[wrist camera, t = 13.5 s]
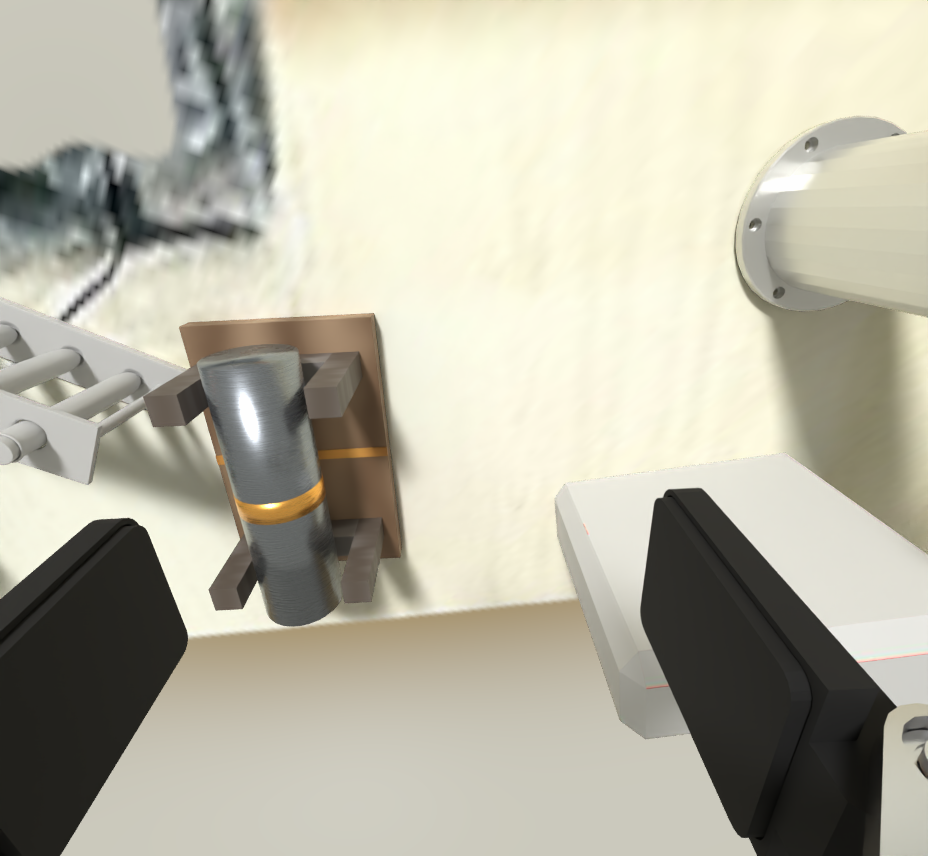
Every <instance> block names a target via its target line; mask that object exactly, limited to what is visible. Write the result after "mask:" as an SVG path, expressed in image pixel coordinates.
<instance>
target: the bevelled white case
mask: <svg viewBox="0 0 928 856" xmlns="http://www.w3.org/2000/svg"><path fill="white" fill-rule="evenodd" d="M682 488H702V489H703V490H704V491H705V492H706V493H707V494H708V495H709V496H710V497H711V498H712V499H713V501H714V502H715V503H716V504H717V505H718V506H719V507H720V508H721V510H722V511H723V512H724V513H725V514H726V515H727V516H728V517H729V519H730V520H731V521H732V522H733V523H734V524H735V525H736V526H737V528H738V529H739V530H740V531H741V532H742V533H743V534H744V535H745V537H746V538H747V539H748V540H749V541H750V542H751V543H752V544H753V546H754V547H755V548H756V549H757V550H758V551H759V552H760V553H761V555H762V556H763V557H764V558H765V559H766V560H767V561H768V562H769V564H770V565H771V566H772V567H773V568H774V569H775V570H776V571H777V572H778V574H779V575H780V576H781V577H782V578H783V579H784V580H785V581H786V583H787V584H788V585H789V586H790V587H791V588H792V589H793V590H794V592H795V593H796V594H797V595H798V596H799V597H800V598H801V599H802V601H803V602H804V603H805V604H806V605H807V606H808V607H809V608H810V610H811V611H812V612H813V613H814V614H815V615H816V616H817V617H818V618H819V620H820V621H821V622H822V623H823V624H824V625H825V626H826V627H827V629H828V630H829V631H830V632H831V633H832V634H833V635H834V636H835V638H836V639H837V640H838V641H839V642H840V643H841V644H842V645H843V647H844V648H845V649H846V650H847V651H848V652H849V653H850V654H851V656H852V657H853V658H854V659H855V660H856V661H857V662H858V663H859V665H860V666H861V667H862V668H863V669H864V670H865V671H866V672H867V674H868V675H869V676H870V677H871V678H872V679H873V680H874V681H875V683H876V684H877V685H878V686H879V687H880V688H881V689H882V690H883V692H884V693H885V694H886V695H887V696H888V697H889V698H890V699H891V701H892V702H893V703H894V704H895V705H896V706H897V707H898V706H900V705H907V704H914V703H921V704H928V554H926V553H925V552H924V551H922V550H921V549H919V548H918V547H917V546H915V545H914V544H912V543H911V542H910V541H908V540H907V539H905V538H904V537H903V536H901V535H900V534H898V533H897V532H896V531H894V530H893V529H891V528H890V527H889V526H887V525H886V524H884V523H883V522H882V521H880V520H879V519H877V518H876V517H875V516H873V515H872V514H870V513H869V512H868V511H866V510H865V509H863V508H862V507H861V506H859V505H858V504H856V503H855V502H854V501H852V500H851V499H849V498H848V497H847V496H845V495H844V494H842V493H841V492H840V491H838V490H837V489H835V488H834V487H833V486H831V485H830V484H828V483H827V482H826V481H824V480H823V479H821V478H820V477H819V476H817V475H816V474H814V473H813V472H812V471H810V470H809V469H807V468H806V467H805V466H803V465H802V464H800V463H799V462H798V461H796V460H795V459H793V458H792V457H791V456H789V455H788V454H786V453H779V454H772V455H764V456H757V457H750V458H743V459H735V460H728V461H721V462H714V463H706V464H699V465H692V466H685V467H677V468H670V469H663V470H656V471H648V472H641V473H634V474H627V475H619V476H612V477H605V478H598V479H590V480H583V481H576V482H569V483H565V484H564V486H563V487H562V488H561V490H560V491H559V493H558V494H557V495H556V497H555V509H556V522H557V536H558V539H559V542H560V545H561V548H562V551H563V554H564V557H565V560H566V562H567V565H568V568H569V571H570V574H571V577H572V580H573V583H574V586H575V589H576V592H577V595H578V598H579V601H580V604H581V607H582V609H583V612H584V615H585V618H586V622H587V625H588V628H589V630H590V633H591V636H592V639H593V642H594V645H595V648H596V651H597V654H598V657H599V660H600V663H601V666H602V669H603V672H604V675H605V678H606V681H607V683H608V686H609V690H610V693H611V695H612V698H613V701H614V704H615V707H616V710H617V713H618V716H619V719H620V721H621V722H623V723H624V724H625V725H627V726H628V727H630V728H631V729H632V730H633V731H635V732H636V733H638V734H639V735H640V736H642V737H643V738H645V739H650V738H659V737H667V736H676V735H684V734H690V731H689V729H688V727H687V725H686V723H685V720H684V718H683V716H682V714H681V711H680V709H679V707H678V705H677V703H676V700H675V698H674V696H673V694H672V691H671V689H670V687H669V685H668V682H667V680H666V678H665V676H664V674H663V671H662V669H661V667H660V665H659V662H658V660H657V658H656V656H655V654H654V651H653V649H652V647H651V645H650V642H649V640H648V638H647V636H646V634H645V631H644V629H643V626H642V622H641V617H640V606H641V598H642V590H643V583H644V575H645V568H646V560H647V553H648V545H649V538H650V530H651V523H652V515H653V507H654V502H655V500H656V499H657V498H663V496H664V493H665V492H666V491H667V490H668V489H682Z"/></svg>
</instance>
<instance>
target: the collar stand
mask: <svg viewBox="0 0 928 856" xmlns="http://www.w3.org/2000/svg"><path fill="white" fill-rule="evenodd" d="M179 329H180V332H181V336H182V339H183V343H184V346H185V350H186V353H187V357H188V360H189V364H190V367H191V368H189V369H188V370H186V371H184V372H183V373H181V374H179V375H178V376H176V377H174V378H173V379H171V380H169V381H168V382H166V383H165V384H163V385H161V386H160V387H158V388H156V389H155V390H153V391H151V392H150V393H148V394H146V395H145V396H143V399H144V402H145V404H146V407H147V410H148V413H149V416H150V419H151V422H152V425H153V427H164V426H183V425H187V424H188V423H189V422H191V421H192V420H193V419H194V418H195V417H197V416H198V415H199V414H200V413H202V412H204V415H205V419H206V422H207V426H208V429H209V433H210V436H211V440H212V443H213V447H214V450H215V453H216V459H217V463H218V465H219V467H220V471H221V474H222V478H223V481H224V485H225V488H226V492H227V495H228V498H229V502H230V505H231V509H232V512H233V516H234V519H235V523H236V526H237V530H238V533H239V536H240V541H239V543H238V544H237V546H236V547H235V549H234V550H233V552H232V554H231V555H230V557H229V558H228V560H227V562H226V563H225V565H224V566H223V568H222V569H221V571H220V573H219V574H218V576H217V577H216V579H215V581H214V582H213V584H212V585H211V587H210V588H209V592H210V595H211V598H212V601H213V604H214V607H215V610H234V609H243V607H244V605H245V603H246V601H247V600H248V598H249V596H250V594H251V592H252V590H253V588H254V586H255V584H256V582H257V580H258V579H257V576H256V572H255V569H254V565H253V562H252V558H251V555H250V551H249V547H248V544H247V540H246V537H245V533H244V530H243V526H242V523H241V519H240V516H239V513H238V510H237V506H236V503H235V499H234V496H233V491H232V487H231V484H230V480H229V477H228V473H227V470H226V466H225V463H224V459H223V456H222V452H221V448H220V445H219V441H218V438H217V434H216V431H215V427H214V424H213V420H212V417H211V413H210V410H209V406H208V403H207V399H206V395H205V392H204V388H203V385H202V381H201V378H200V374H199V371H198V367H197V362H198V361H199V360H200V359H202V358H204V357H206V356H208V355H210V354H213V353H216V352H220V351H223V350H228V349H232V348H237V347H243V346H250V345H260V344H285V345H291V346H294V347H296V348H298V351H299V356H300V361H301V366H302V372H303V377H304V382H305V387H304V388H303V389H304V394H305V399H306V405H307V410H308V415H309V419H312V424H313V430H314V435H315V440H316V445H317V451H318V456H319V461H320V466H321V471H322V475H323V481H324V486H325V491H326V498H327V503H328V508H329V514H330V519H331V524H332V529H333V535H334V540H335V545H336V551H337V556H338V561H344V560H347V562H346V566H345V569H344V573H343V576H342V580H341V587H342V592H343V597H344V602H345V603H358V602H372V597H373V591H374V586H375V581H376V576H377V571H378V566H379V561H380V558H398V557H401V550H402V544H401V536H400V527H399V519H398V511H397V502H396V494H395V486H394V477H393V469H392V461H391V452H390V444H389V436H388V427H387V419H386V411H385V402H384V394H383V386H382V377H381V369H380V361H379V352H378V344H377V336H376V327H375V319H374V313H370V314H350V315H330V316H310V317H290V318H270V319H250V320H230V321H210V322H190V323H187V324H184V325H182V326H180V327H179Z"/></svg>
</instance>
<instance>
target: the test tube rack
mask: <svg viewBox="0 0 928 856" xmlns="http://www.w3.org/2000/svg"><path fill="white" fill-rule="evenodd" d="M0 357H3V358H5V359H8V360H11V361H14V362H16V364H13V365H11V366H8V367H5V368H2V369H0V465H6V464H9V463H13V462H19V463H22V464H25V465H28V466H31V467H34V468H37V469H40V470H43V471H46V472H49V473H52V474H55V475H58V476H61V477H65V478H68V479H71V480H74V481H77V482H80V483H83V484H86V485H89V484H90V483H91V482H92V479H93V474H94V468H95V463H96V457H97V451H98V446H99V440H100V437H102V436H103V435H105V434H106V433H108V432H110V431H111V430H113V429H114V428H116V427H117V426H119V425H120V424H122V423H123V422H125V421H127V420H128V419H130V418H131V417H133V416H134V415H136V414H137V413H139V412H140V411H142V410H143V409H145V410H147V407H146V404H145V402H144V399H143V396H145V395H146V394H148V393H150V392H151V391H153V390H155V389H156V388H158V387H160V386H161V385H163V384H165V383H166V382H168V381H169V380H171V379H173V378H174V377H176V376H178V375H179V374H181V373H183V372H184V371H186V370H188V369H185V368H182V367H180V366H177V365H175V364H172V363H170V362H167V361H164V360H162V359H159V358H157V357H154V356H151V355H149V354H146V353H144V352H141V351H139V350H136V349H133V348H131V347H128V346H126V345H123V344H121V343H118V342H115V341H113V340H110V339H108V338H105V337H103V336H100V335H97V334H95V333H92V332H90V331H87V330H85V329H82V328H79V327H77V326H74V325H72V324H69V323H67V322H64V321H61V320H59V319H56V318H54V317H51V316H49V315H46V314H43V313H41V312H38V311H36V310H33V309H31V308H28V307H25V306H23V305H20V304H18V303H15V302H13V301H10V300H7V299H5V298H2V297H0ZM56 377H57V378H60V379H63V380H65V381H68V382H71V383H74V384H76V385H79V386H82V387H85V388H87V389H86V390H84V391H82V392H80V393H78V394H76V395H74V396H71V397H69V398H67V399H65V400H63V401H61V402H59V403H57V404H55V405H53V406H51V407H49V406H47V405H44V404H41V403H38V402H35V401H32V400H30V399H27V398H24V397H21V396H18V395H15V394H18V393H20V392H22V391H25V390H27V389H29V388H32V387H34V386H37V385H39V384H41V383H44V382H46V381H48V380H51V379H53V378H56ZM119 401H123V402H125V403H128V404H129V405H127V406H126V407H124V408H122V409H121V410H119V411H117V412H116V413H114V414H112V415H111V416H109V417H107V418H106V419H104V420H102V421H101V422H99V423H94V422H92V421H89V420H88V419H90V418H92V417H93V416H95V415H97V414H99V413H100V412H102V411H104V410H106V409H107V408H109V407H111V406H112V405H114V404H116V403H118V402H119ZM147 411H148V410H147ZM19 420H23V421H21V422H19V423H17V422H18V421H19ZM45 444H46V445H45ZM43 445H45V446H44V447H41V446H43ZM40 447H41V448H40Z"/></svg>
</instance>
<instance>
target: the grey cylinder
mask: <svg viewBox="0 0 928 856" xmlns="http://www.w3.org/2000/svg"><path fill="white" fill-rule="evenodd" d="M197 367H198V371H199V374H200V378H201V381H202V385H203V388H204V392H205V395H206V399H207V403H208V406H209V410H210V413H211V417H212V420H213V424H214V427H215V431H216V434H217V438H218V441H219V445H220V448H221V452H222V456H223V459H224V463H225V466H226V470H227V473H228V477H229V480H230V484H231V487H232V491H233V496H234V499H235V503H236V506H237V510H238V513H239V516H240V519H241V523H242V526H243V530H244V533H245V537H246V540H247V544H248V547H249V551H250V555H251V558H252V562H253V565H254V569H255V572H256V576H257V579H258V583H259V586H260V590H261V593H262V597H263V600H264V604H265V608H266V611H267V614H268V616H269V618H270V619H271V620H272V621H274V622H275V623H277V624H280V625H283V626H302V625H306V624H310V623H313V622H315V621H317V620H320V619H321V618H323V617H325V616H326V615H328V614H329V613H330V612H332V611H333V610H334V609H335V608H336V607H337V605H338V604H339V602H340V601H341V599H342V596H343V592H342V587H341V580H342V577H341V572H340V566H339V561H338V556H337V551H336V545H335V540H334V535H333V529H332V524H331V519H330V514H329V508H328V503H327V498H326V491H325V486H324V481H323V475H322V471H321V466H320V461H319V456H318V451H317V445H316V440H315V435H314V430H313V424H312V419H309V415H308V410H307V405H306V399H305V394H304V389H303V388H304V387H305V382H304V377H303V372H302V366H301V361H300V356H299V351H298V348H296V347H294V346H291V345H285V344H260V345H250V346H243V347H237V348H232V349H228V350H223V351H220V352H216V353H213V354H210V355H208V356H206V357H204V358H202V359H200V360H199V361H198V362H197Z"/></svg>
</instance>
